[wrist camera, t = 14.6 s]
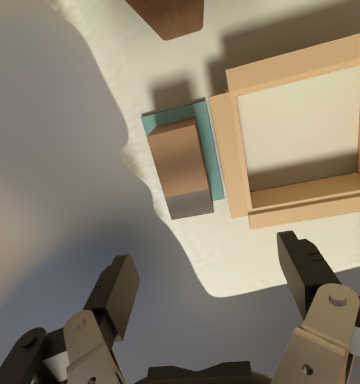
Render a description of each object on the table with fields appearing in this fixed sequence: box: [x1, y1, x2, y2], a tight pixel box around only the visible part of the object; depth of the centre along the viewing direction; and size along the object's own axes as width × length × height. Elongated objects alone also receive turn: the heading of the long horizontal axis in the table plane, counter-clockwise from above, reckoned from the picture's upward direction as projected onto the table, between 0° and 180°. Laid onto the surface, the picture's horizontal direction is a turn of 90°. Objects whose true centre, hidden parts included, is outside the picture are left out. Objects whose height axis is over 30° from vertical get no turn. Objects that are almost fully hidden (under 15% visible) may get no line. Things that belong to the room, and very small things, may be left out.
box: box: [147, 117, 214, 220], centre depth 29 cm, size 10×5×6 cm, turn 14°
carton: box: [209, 33, 360, 229], centre depth 28 cm, size 18×19×5 cm
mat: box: [141, 101, 224, 201], centre depth 32 cm, size 13×8×1 cm, turn 14°
